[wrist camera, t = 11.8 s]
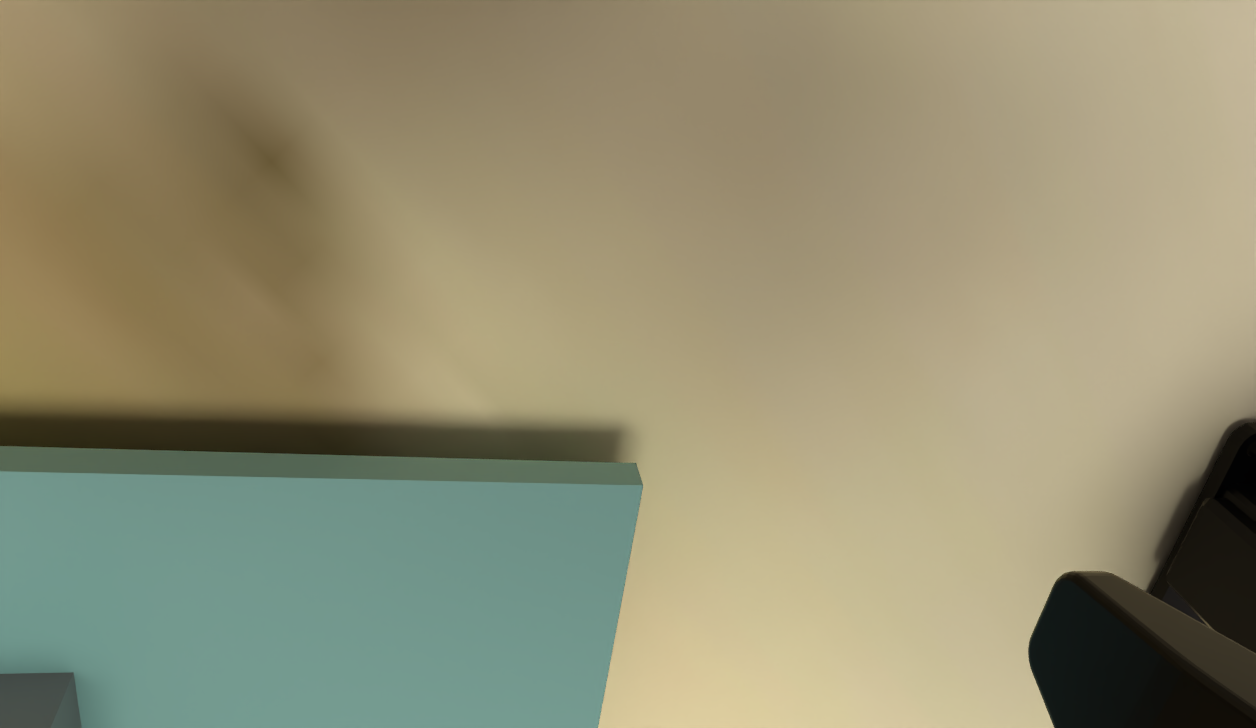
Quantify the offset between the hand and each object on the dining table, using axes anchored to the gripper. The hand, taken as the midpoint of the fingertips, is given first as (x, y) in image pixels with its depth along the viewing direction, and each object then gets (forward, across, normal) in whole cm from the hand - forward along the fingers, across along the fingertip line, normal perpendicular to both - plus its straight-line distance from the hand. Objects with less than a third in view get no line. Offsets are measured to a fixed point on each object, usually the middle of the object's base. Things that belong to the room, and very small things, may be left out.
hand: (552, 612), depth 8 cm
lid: (+12, +4, +12) cm, 17 cm away
